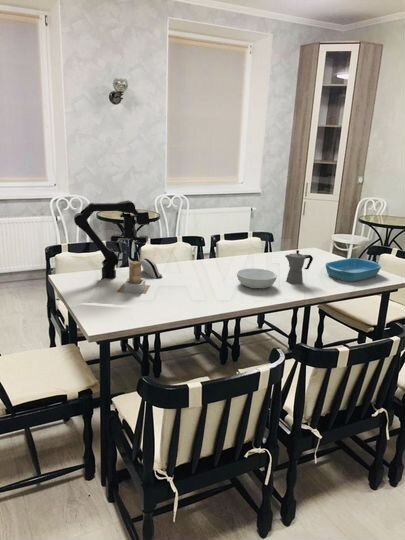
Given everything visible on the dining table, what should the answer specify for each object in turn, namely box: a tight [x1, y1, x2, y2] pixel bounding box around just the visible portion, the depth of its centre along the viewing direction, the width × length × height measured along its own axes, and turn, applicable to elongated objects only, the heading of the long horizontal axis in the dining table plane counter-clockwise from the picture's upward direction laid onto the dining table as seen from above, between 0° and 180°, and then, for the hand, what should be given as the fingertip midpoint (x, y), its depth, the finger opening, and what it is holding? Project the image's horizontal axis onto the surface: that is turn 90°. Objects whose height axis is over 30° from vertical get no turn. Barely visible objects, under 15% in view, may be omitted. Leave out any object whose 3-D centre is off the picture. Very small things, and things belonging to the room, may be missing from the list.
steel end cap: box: [123, 278, 146, 295], centre depth 215 cm, size 8×8×4 cm
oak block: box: [128, 260, 142, 284], centre depth 214 cm, size 4×4×13 cm
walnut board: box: [116, 283, 151, 295], centre depth 218 cm, size 14×13×1 cm
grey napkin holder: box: [140, 257, 163, 280], centre depth 245 cm, size 17×5×10 cm, turn 28°
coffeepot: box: [284, 249, 314, 285], centre depth 243 cm, size 15×9×18 cm, turn 92°
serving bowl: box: [236, 267, 278, 289], centre depth 234 cm, size 21×21×7 cm
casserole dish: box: [324, 257, 382, 283], centre depth 262 cm, size 37×22×7 cm, turn 127°
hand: (129, 254), depth 234 cm, fingers open, 9 cm apart
